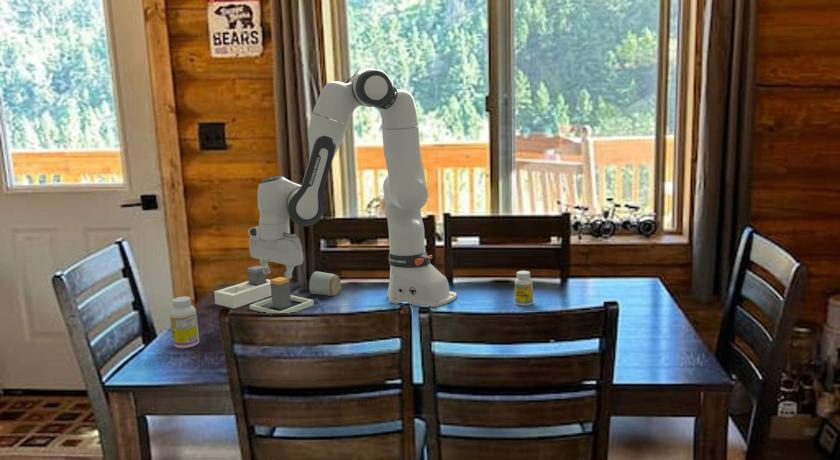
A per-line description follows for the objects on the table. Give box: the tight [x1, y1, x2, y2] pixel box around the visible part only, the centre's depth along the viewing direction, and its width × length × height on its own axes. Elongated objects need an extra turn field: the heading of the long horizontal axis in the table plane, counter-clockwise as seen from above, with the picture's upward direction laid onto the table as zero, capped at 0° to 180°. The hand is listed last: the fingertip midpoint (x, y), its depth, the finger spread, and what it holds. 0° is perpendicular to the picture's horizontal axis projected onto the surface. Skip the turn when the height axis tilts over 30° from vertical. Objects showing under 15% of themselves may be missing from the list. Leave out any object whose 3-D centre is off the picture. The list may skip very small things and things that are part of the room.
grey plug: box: [269, 276, 292, 310], centre depth 219 cm, size 4×4×9 cm
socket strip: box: [213, 278, 272, 309], centre depth 229 cm, size 9×18×5 cm, turn 143°
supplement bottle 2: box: [514, 270, 534, 307], centre depth 216 cm, size 5×5×10 cm
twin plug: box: [247, 265, 267, 286], centre depth 232 cm, size 4×4×9 cm
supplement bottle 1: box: [169, 296, 200, 349], centre depth 193 cm, size 7×7×13 cm
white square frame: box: [248, 294, 315, 314], centre depth 220 cm, size 14×14×2 cm
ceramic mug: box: [308, 270, 342, 297], centre depth 233 cm, size 11×8×8 cm
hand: (277, 275), depth 218 cm, fingers open, 8 cm apart
